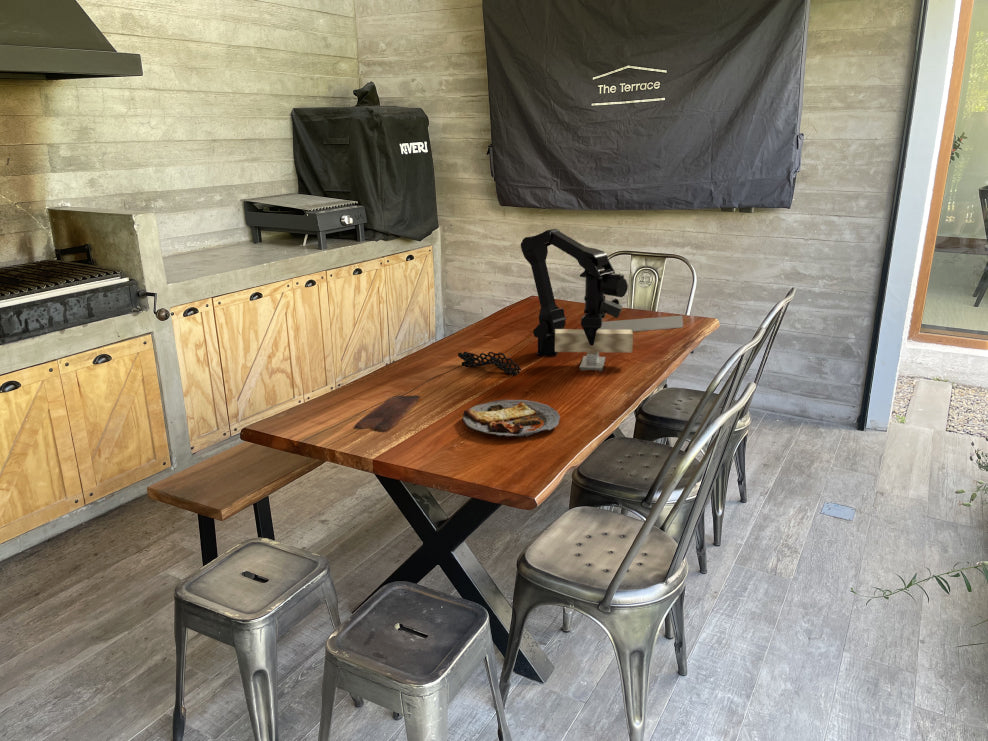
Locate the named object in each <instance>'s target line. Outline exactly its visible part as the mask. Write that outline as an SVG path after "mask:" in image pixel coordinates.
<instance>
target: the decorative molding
mask: <svg viewBox="0 0 988 741" xmlns="http://www.w3.org/2000/svg"><path fill="white" fill-rule="evenodd" d="M683 318H684V317H683V315H670V316H661V317H659V316H658V317H646V318H645V317H644V318H636V319H635V318H634V319H622V320H609V321H608V320H607V321H602V326H601V328H599V329H609V330H632V332H643V331H644V332H645V331H657V330H669V329H670V330H671V329H679V328H684V320H683Z"/></svg>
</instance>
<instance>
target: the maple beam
mask: <svg viewBox="0 0 988 741" xmlns="http://www.w3.org/2000/svg"><path fill="white" fill-rule="evenodd" d="M633 340H634V333H633V332H632V330H609V329H598V330H597V332H596V337H595V341H594V345H593V346H591V345H590V344H589V342H588V339H587V337H586V334H585V332H584V330H583V328H582V329H581V328H576V329H573V328H570V329H569V328H563V329H555V352H558V353H587V352H599V353H633V342H634V341H633Z"/></svg>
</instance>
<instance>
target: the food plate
mask: <svg viewBox="0 0 988 741" xmlns="http://www.w3.org/2000/svg"><path fill="white" fill-rule="evenodd" d="M560 419H561V416H560V414H559V411H558V410H556V409H554V408H553V407H551V406H549V404H544V403H541V402H538V401H534V400H525V399H498V400H492V401H488V402H483V403H481V404H477V405H473V407H470V408H467V409H465V410H464V411H463V414H462V418H461V420H462V421H463V423H464V424H465V426H466V427H467V428H469V429H470V430H473V431H477V432H480V433H483V434H485V435H490V436H493V437H501V436H505V437H506V438H507V437H513V436H515V437H524V436H525V437H529V436H530V435H533V434H537V433H539V432H542V431H546V430H547V431H551V430H553V429H554V428H556V427H557V426H559V423H560ZM542 421H543V423H541V422H542ZM535 425H541V426H540V427H538V428H536V426H535ZM535 428H536V429H535Z"/></svg>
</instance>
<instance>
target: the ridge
mask: <svg viewBox="0 0 988 741" xmlns="http://www.w3.org/2000/svg"><path fill="white" fill-rule="evenodd" d="M605 363H606V356H600V352H586V355H583V357H582V360H581V363H580V365H579V370H580V369H581V370H580V371H585V370H599V371H598V372H603V370H604V367H603V366H605Z"/></svg>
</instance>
